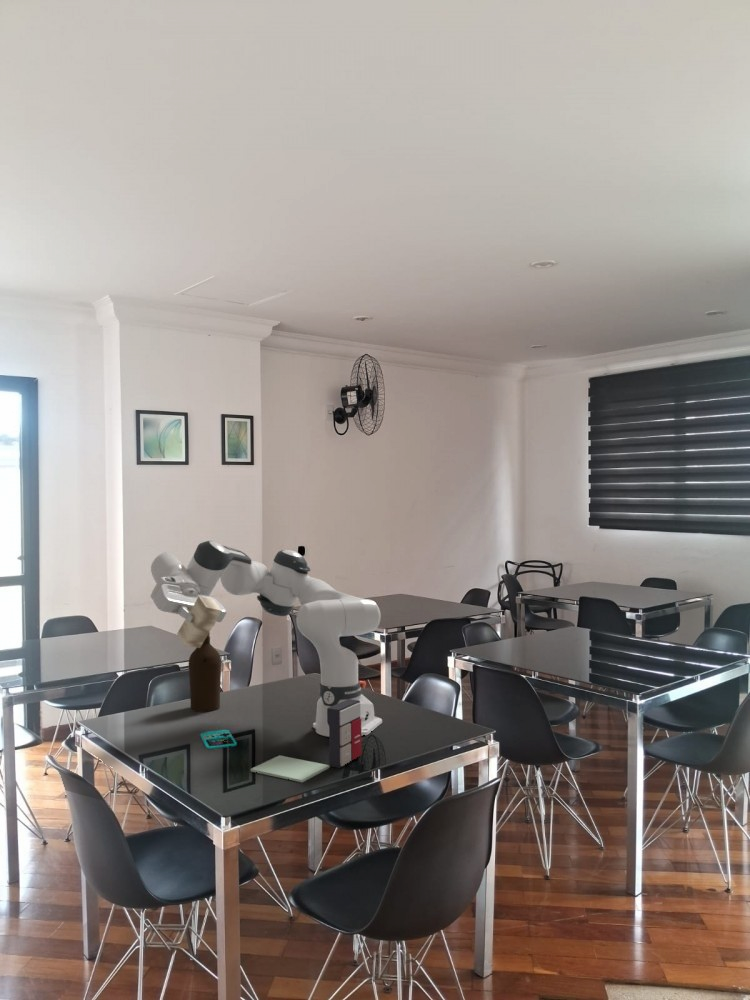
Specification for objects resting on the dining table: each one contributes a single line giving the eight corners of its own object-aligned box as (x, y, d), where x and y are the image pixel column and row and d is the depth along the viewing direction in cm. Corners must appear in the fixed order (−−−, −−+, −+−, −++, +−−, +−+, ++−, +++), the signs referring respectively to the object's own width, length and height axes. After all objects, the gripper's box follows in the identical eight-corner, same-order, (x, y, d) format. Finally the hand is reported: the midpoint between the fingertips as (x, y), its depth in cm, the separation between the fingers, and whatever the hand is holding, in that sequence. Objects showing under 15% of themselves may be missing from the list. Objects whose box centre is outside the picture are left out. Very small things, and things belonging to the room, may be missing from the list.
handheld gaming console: (228, 728, 232) (237, 743, 218) (228, 732, 232) (237, 747, 218) (199, 731, 229) (207, 747, 215) (199, 735, 229) (207, 750, 215)
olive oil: (227, 708, 258) (227, 632, 258) (199, 714, 251) (198, 636, 251) (211, 702, 266) (210, 628, 266) (182, 708, 258) (182, 632, 258)
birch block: (192, 636, 208) (214, 599, 206) (199, 648, 204) (222, 610, 202) (176, 633, 204) (198, 596, 202) (183, 645, 201) (206, 607, 199)
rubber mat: (279, 757, 208) (279, 755, 208) (329, 767, 200) (329, 765, 200) (250, 771, 197) (250, 768, 197) (302, 782, 189) (302, 780, 189)
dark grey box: (341, 769, 198) (341, 710, 198) (327, 766, 201) (326, 708, 201) (363, 756, 208) (362, 700, 208) (349, 754, 210) (348, 698, 210)
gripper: (208, 608, 220) (228, 637, 210) (144, 595, 205) (163, 626, 196) (218, 590, 219) (239, 618, 209) (155, 575, 204) (175, 605, 195)
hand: (202, 622), depth 202 cm, fingers closed on birch block, 5 cm apart
